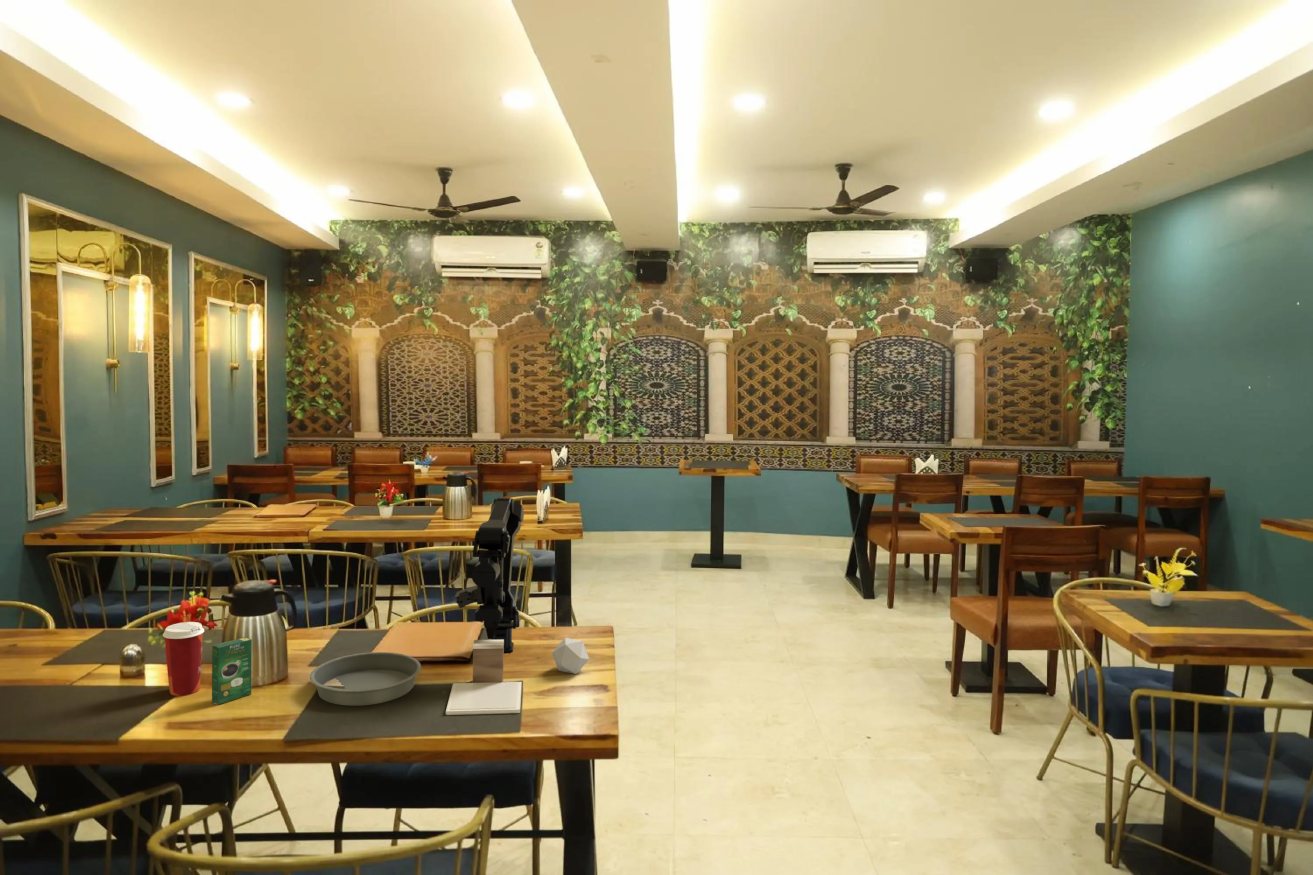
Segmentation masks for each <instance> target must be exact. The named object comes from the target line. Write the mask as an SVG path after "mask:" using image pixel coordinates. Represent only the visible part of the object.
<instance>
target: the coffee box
mask: <svg viewBox="0 0 1313 875" xmlns="http://www.w3.org/2000/svg"><path fill="white" fill-rule="evenodd" d="M252 642H253V640H252V638H249V637H246V636H243V637H241V638H236V639H233V640H227V641H224V642H220V643H219V642H218V643H215V644H212V645H211V646H212V647H211V653H212V654H211V656H212V657H211V659H212V660H211V703H213V704H214V705H221V704H224V703H225V704H226V703H228V702H231V701H234V700H237V699H240V698H243V697H246V696H249V695H252V689H253V688H252V663H253V662H252V660H253V658H252V655H253V653H252V652H253V650H252V648H253V643H252Z"/></svg>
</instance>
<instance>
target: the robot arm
mask: <svg viewBox="0 0 1313 875" xmlns="http://www.w3.org/2000/svg"><path fill="white" fill-rule="evenodd" d="M490 506H491V507H490V516H489V518H488V519H487V521H484V522H482V523H481V524H480V525H479V526H478V529H477V530H476V531H475V534H474V535H475V536H474V540H473V541H474V542H473V549H472V557H473V558H478V562H477V564H476V565H475V567H474V568H473V569H472V572H471V579H472V582H473V583H474V586H469V587H467V588H464V589H461V590H459V591H456V593H455V595H454V598H455V600H456V602H455V603H456V604H457V606H458V608H459V609H462V608H465V607H466V606H469V605H472V604H474V603H476V605H479V606H478V607H476V609H475V612H474V613H475V617H474V619H475V621H476V622H483V627H484V629H485V631H486V637H487V640H504V653H512V652H514V642H513V630H516V629H517V628H520V626H521V625H520V624H521V623H520V621H521V620H520V612H519V611H518V607H517V606H516V600H515V597H514V596H513V594H512V592H511V582H512V570H513V569H512V568H513V557H514V544H515V541H514V540H515V537H516V536H517V534H518V533H519V532H520V530H521V528H522V527H521V526H522V523H523V522H524V516H525V514H524V513H525V511H524V508H523V507H524V506H523V505H522V504H520V503H519V502H516V501H515V499H514V498H511V497H499V496H498V497H496V498H494V499H493V502H492V503H491V505H490Z"/></svg>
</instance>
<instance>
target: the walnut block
mask: <svg viewBox="0 0 1313 875" xmlns="http://www.w3.org/2000/svg"><path fill="white" fill-rule="evenodd" d="M472 646H473V647H472V683H495V682H504V653H505V652H504V640H490V639H474V640H473V645H472Z"/></svg>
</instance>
